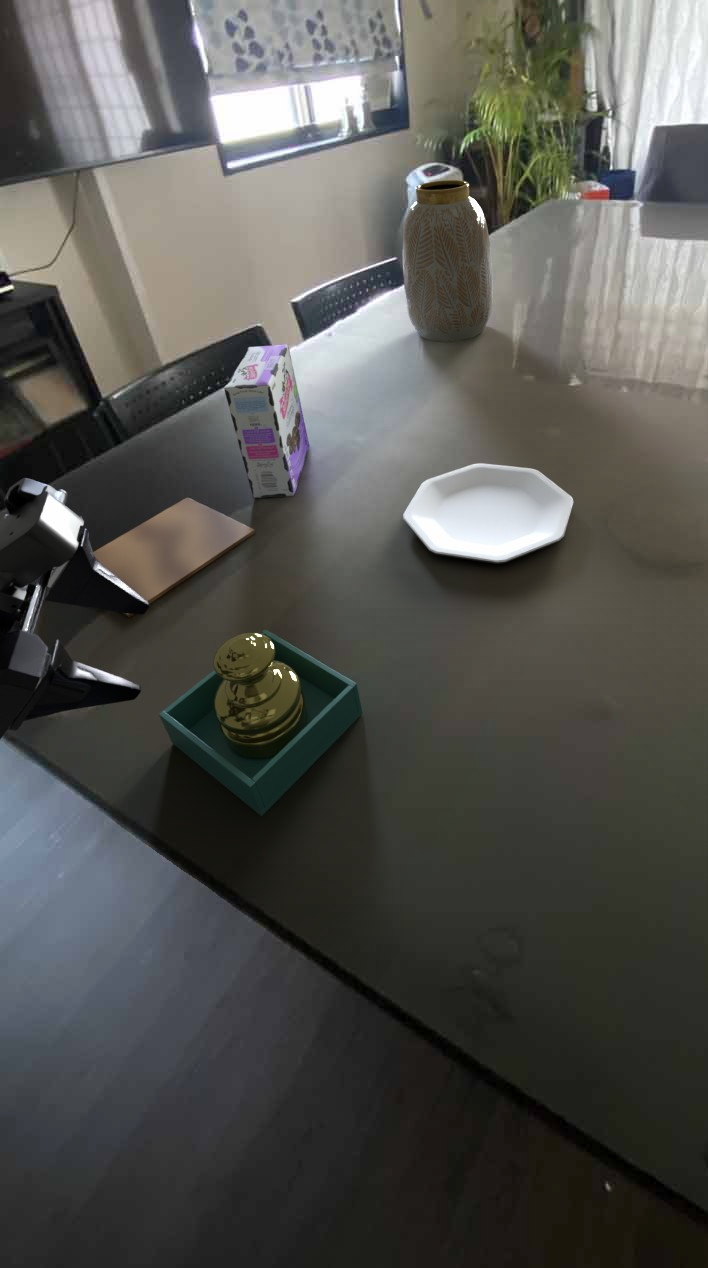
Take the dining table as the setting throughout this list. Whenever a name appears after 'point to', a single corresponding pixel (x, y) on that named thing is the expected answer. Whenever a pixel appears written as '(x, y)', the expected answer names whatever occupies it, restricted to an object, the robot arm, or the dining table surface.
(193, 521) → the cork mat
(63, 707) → the robot arm
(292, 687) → the brass door knob
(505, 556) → the plate
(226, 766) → the storage box
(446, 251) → the vase
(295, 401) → the candy box
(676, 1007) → the dining table surface
